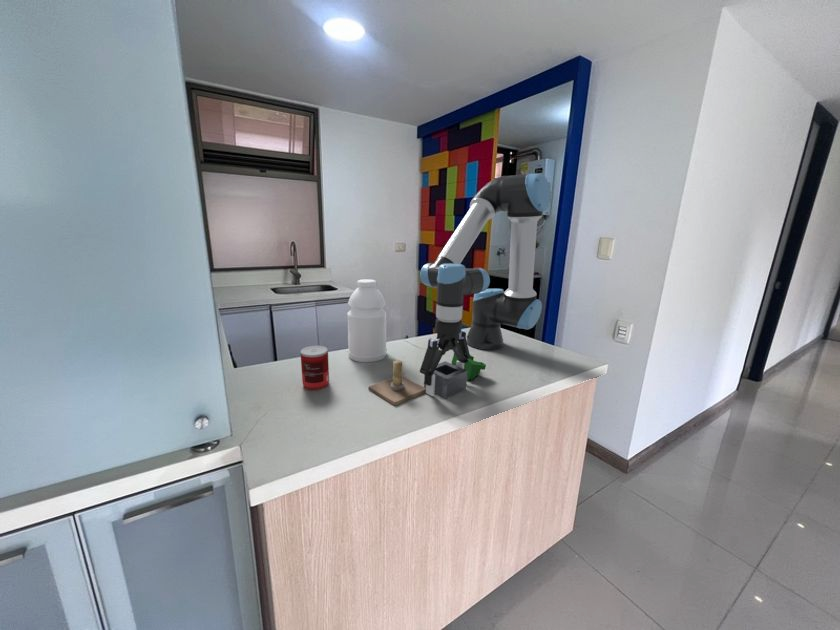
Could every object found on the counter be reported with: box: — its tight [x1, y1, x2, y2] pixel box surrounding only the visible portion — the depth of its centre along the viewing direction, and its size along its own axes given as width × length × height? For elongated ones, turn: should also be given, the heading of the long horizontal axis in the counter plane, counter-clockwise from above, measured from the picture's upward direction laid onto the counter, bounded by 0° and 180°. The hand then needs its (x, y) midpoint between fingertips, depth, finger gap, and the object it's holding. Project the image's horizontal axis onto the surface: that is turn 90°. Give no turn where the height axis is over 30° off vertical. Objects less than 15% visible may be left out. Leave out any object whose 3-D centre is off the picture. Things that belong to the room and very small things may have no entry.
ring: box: [423, 361, 468, 400], centre depth 100 cm, size 9×9×6 cm
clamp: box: [450, 352, 487, 381], centre depth 111 cm, size 12×6×9 cm, turn 20°
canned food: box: [300, 345, 330, 391], centre depth 99 cm, size 8×8×11 cm
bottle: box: [346, 278, 387, 363], centre depth 120 cm, size 14×14×28 cm
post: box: [368, 360, 426, 406], centre depth 97 cm, size 12×12×9 cm
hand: (445, 387), depth 101 cm, fingers open, 12 cm apart
